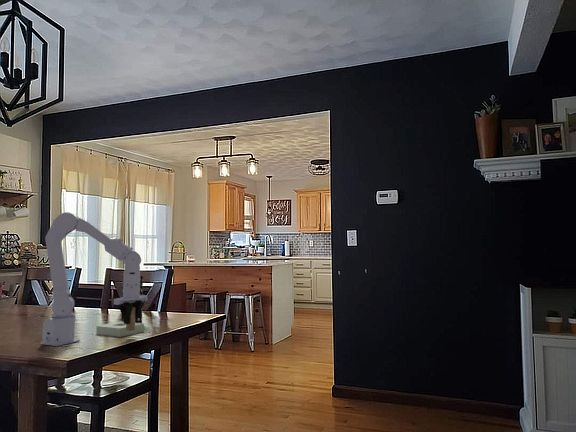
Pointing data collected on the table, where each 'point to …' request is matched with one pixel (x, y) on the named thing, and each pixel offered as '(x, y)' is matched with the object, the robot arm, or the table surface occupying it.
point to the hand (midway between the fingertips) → (130, 323)
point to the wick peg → (131, 321)
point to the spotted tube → (134, 300)
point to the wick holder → (118, 329)
